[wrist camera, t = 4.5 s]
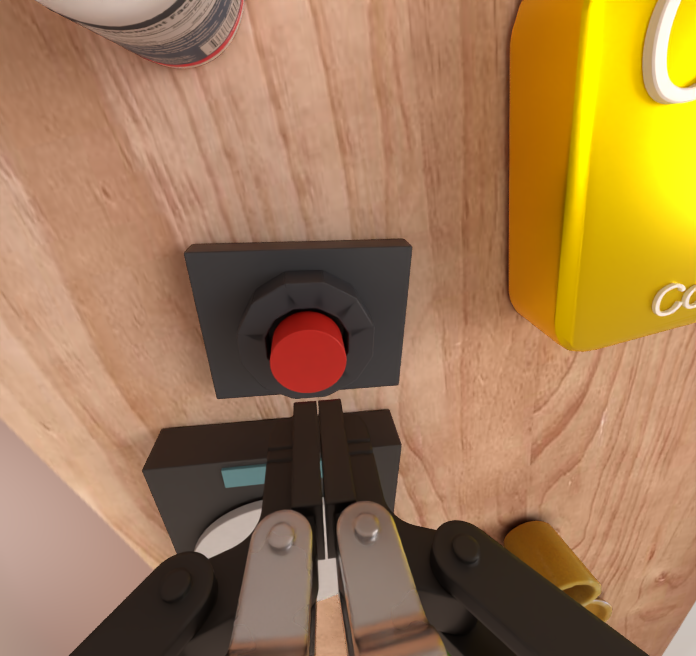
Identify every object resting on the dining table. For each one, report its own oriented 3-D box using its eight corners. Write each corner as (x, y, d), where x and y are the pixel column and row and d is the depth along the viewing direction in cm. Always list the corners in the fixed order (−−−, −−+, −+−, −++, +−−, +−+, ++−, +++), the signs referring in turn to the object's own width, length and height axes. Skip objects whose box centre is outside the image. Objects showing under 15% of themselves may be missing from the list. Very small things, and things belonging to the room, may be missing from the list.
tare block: (221, 383, 19) (209, 421, 17) (191, 243, 15) (170, 264, 13) (392, 371, 21) (406, 404, 18) (404, 238, 17) (424, 256, 14)
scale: (210, 570, 28) (199, 628, 25) (161, 428, 20) (134, 484, 17) (377, 548, 30) (387, 599, 26) (389, 409, 22) (406, 456, 19)
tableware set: (347, 555, 30) (358, 650, 24) (651, 480, 30) (730, 556, 25) (400, 700, 50) (412, 769, 44) (580, 654, 51) (615, 716, 45)
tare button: (275, 372, 16) (273, 396, 15) (268, 312, 15) (265, 332, 13) (342, 367, 17) (346, 390, 15) (341, 309, 15) (347, 327, 14)
